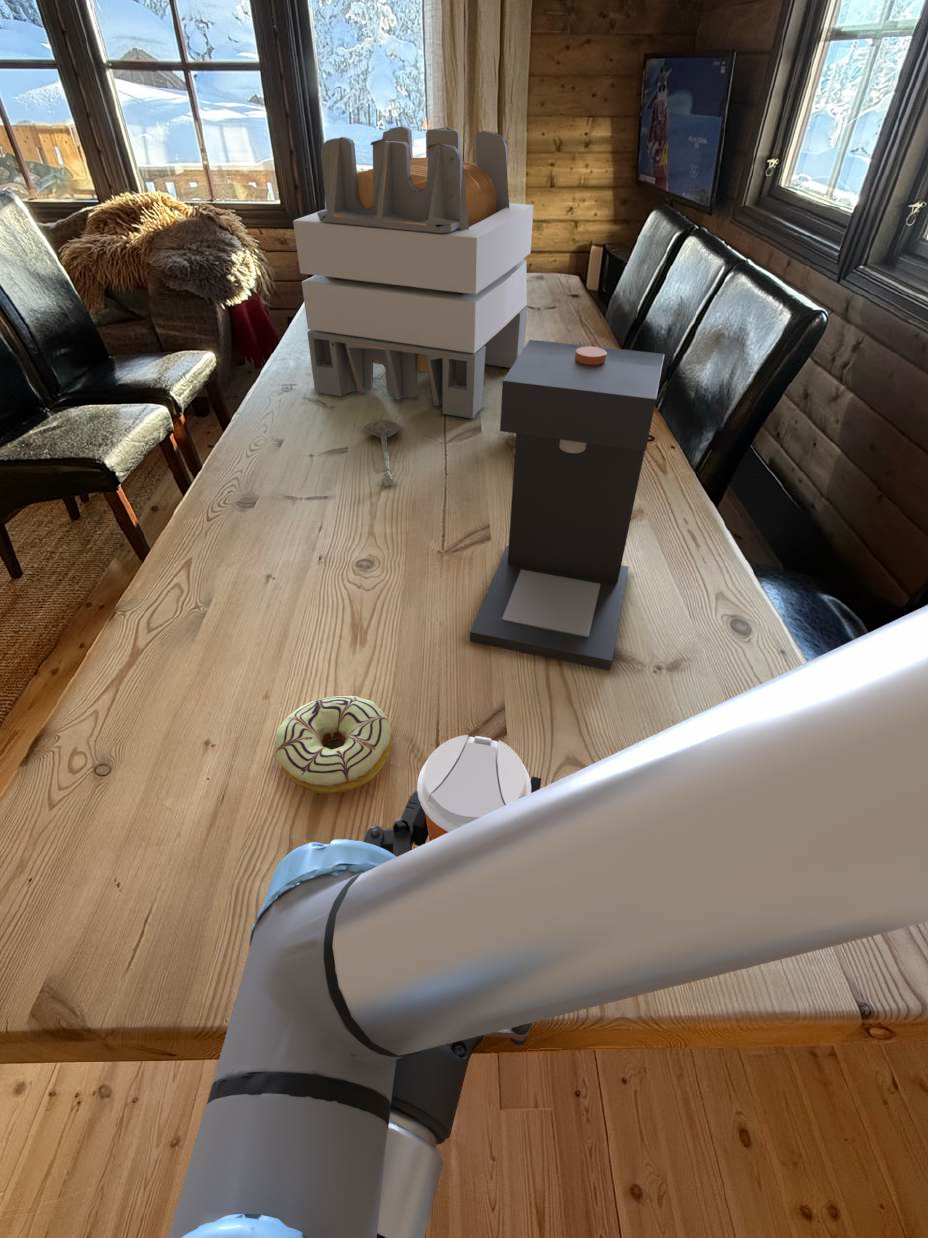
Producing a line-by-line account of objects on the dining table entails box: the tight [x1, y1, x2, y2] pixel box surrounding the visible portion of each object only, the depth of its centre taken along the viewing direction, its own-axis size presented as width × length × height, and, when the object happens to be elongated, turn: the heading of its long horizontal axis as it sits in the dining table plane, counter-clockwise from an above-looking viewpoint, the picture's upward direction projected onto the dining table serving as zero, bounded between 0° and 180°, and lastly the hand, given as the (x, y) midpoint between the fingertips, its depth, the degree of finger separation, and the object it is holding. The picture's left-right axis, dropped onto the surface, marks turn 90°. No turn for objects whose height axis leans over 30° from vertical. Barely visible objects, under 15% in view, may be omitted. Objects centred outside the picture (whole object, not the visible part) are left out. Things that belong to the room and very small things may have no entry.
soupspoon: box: [362, 419, 402, 487], centre depth 109 cm, size 22×3×7 cm
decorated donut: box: [273, 695, 393, 795], centre depth 62 cm, size 10×11×4 cm
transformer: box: [292, 125, 534, 420], centre depth 122 cm, size 34×33×41 cm
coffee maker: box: [469, 339, 665, 671], centre depth 71 cm, size 18×16×29 cm
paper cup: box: [416, 734, 531, 842], centre depth 48 cm, size 8×8×14 cm
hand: (489, 776), depth 52 cm, fingers closed on paper cup, 7 cm apart
